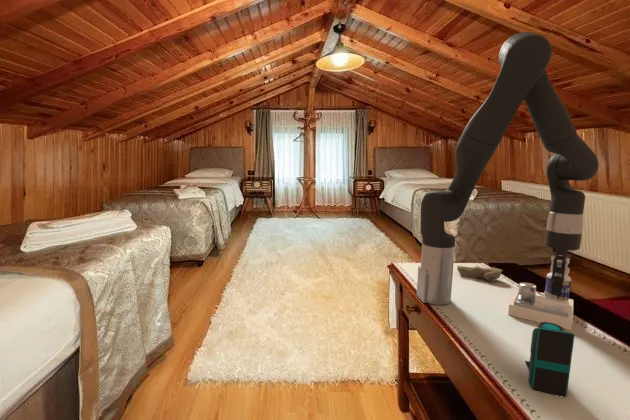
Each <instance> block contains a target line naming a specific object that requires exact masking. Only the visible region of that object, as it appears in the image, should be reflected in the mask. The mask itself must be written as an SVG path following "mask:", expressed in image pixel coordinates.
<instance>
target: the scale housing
mask: <svg viewBox="0 0 630 420" xmlns="http://www.w3.org/2000/svg"><path fill="white" fill-rule="evenodd" d="M518 292H519V287H517V288H516V289H515V291H514V294H513V296H512V297H511V300H510V302H509V303H508V304H509V305H508V313H507V314H508V315H509V316H512V317H516V318H520V319H524V320H529V321H532V322H537V323H538V324H539V323H540V322H549V323H553V324H557V325H559V326H561V327H563V328H564V330H567V331H573V325H574V324H573V322H574V299H572V298H569V300H568V302H569V315H568V317H565V316H560V315H556V314H552V313H548V312H543V311H539V310H535V309H530V308H526V307H522V306H518V305H514V301H515V298H516V296H517V294H518ZM536 295H539V296H543V297H545V292H540V291H536Z"/></svg>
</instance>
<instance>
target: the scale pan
mask: <svg viewBox="0 0 630 420" xmlns="http://www.w3.org/2000/svg"><path fill="white" fill-rule="evenodd" d="M518 295H519V292H518V294H517V296H516V298H515V301H514V305H518V306H522V307H526V308H530V309H535V310H539V311H543V312H548V313H552V314H556V315H560V316H565V317H568V315H569V302H556V301H552V300H549V299H547V298H546V297H543V296H539V295H536V296H535V301H525V300H522V299H520V298H519V297H518Z"/></svg>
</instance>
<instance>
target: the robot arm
mask: <svg viewBox="0 0 630 420" xmlns="http://www.w3.org/2000/svg"><path fill="white" fill-rule="evenodd" d="M552 53H553V47H552V44H551V42H550V41H549V39H548V38H547V37H545V36H543V35H541V34H538V33H535V32H529V31H523V32H517V33H516V34H513V35H512V36H510V37H509V38H508V39H507V40H505V41H504V43H503V44H502V46H501V47H500V51H499V53H498V62H499V63H498V64H499V66H500V71H499V74H497V75H498V76H497V77H496V81H495V82H494V84H493V86H492V88H491V91H490V93H489V95H488V96H487V98H486V99H485V100H484V102H483V104H481V106H480V107H479V108H478V109H477V111H475V112H474V114H473V115H472V117H471V118H470V119H469V121H468V122H467V124H466V126H465V127H464V129H463V131H462V133H461V135H460V137H459V138H458V141H457V143H456V146H455V149H454V150H455V151H454V160H455V172H454V177H453V179H452V181H451V183H450V185H449V186H448V188H447V189H445V190H432V191H428V192H426V193H425V194H424V196H423V197H422V200H421V204H420V235H421V239H422V240H421V257H420V265H419V266H417V268H418V269H417V282H416V283H417V284H416V296H417V297H418V299H420V300H421V302H422V303H423V304H424V303H425V304H430V305H434V306H435V305H436V306H437V305H438V306H443V305H449V304H450V303H451V301H452V291H453V290H452V286H453V276H454V275H453V274H454V261H455V247H456V246H455V245H456V237H455V236H454V235H453V234H451V233H448V232H447V231H445V223H448V222H449V223H450V222H454V221H456V220H458V219H460V217H462V215H463V214H464V212H465V209H466V207H467V205H468V204H469V201H470V198H471V197H472V194H473V192H474V189H475V187H476V186H477V183H478V181H479V180H480V178H481V176H482V174H483V172H484V170H485V168H486V167H487V166H488V163H489V161H490V160H491V159H492V157H493V156H494V154H495V152H496V150H497V149H498V147H499V146H500V143H501V141H502V139H503V138H504V136H505V134H506V132H507V130H508V129H509V126H510V125H511V124H512V121H513V119H514V118H515V117H516V116H515V115H516V113H517V111H519V108H520V106H522V105H521V104H522V103H523V102H524V103H525V105H526V108H527V110H528V113H529V115H530V118H531V119H532V123H533V125H534V127H535V130H536V132H537V135H538V136H539V139H540V141H541V143H542V145H543V147H544V150H546V151H547V152H549V153H552V154H553V155H552V156H551V157H550V158H549V159H548V161H547V164H546V168H545V169H546V170H545V171H546V177H547V180H548V181H547V182H548V187H549V191H550V204H549V212H548V216H547V220H546V221H547V222H546V231H545V239H544V245H545V246H546V247H548V248H551V249H555V252H551V257H550V260H551V265H550V272H551V271H552V277H551V279H552V288H551V294H552V295H556V296H561V293H562V285H563V281H564V274H566V273H567V268H569V267H568V266H569V264H570V261H571V254H569V252H568V251H579V250H580V249H581V245H582V236H583V230H584V208H585V203H586V202H585V201H586V195H585V193H584V192H583V191H581V190H578V189H574V188H573V187H571V184H570V181H576V182H579V181H580V182H583V181H588V180H590V179H593V178H594V177H595V176H596V174H597V173H598V170H599V164H600V163H599V160H598V157H597V154H596V153H595V152H594V150H592V148H591V147H590V146H589V145H588V144H587V143H586V142H585V140H583V138H582V137H580V136H579V134H578V132H577V130H576V127H575V125H574V123H573V121H572V118H571V116H570V114H569V111H568V109H567V108H566V106H565V104H564V103H563V101H562V100H561V98H560V96H559V95H558V93H557V91H556V90H555V88H554V86H553V84H552V82H551V80H550V78H549V76H548V72H547V70H546V69H547V67H548V66H549V63H550V62H551V58H552ZM555 273H561V274H562V277H559V276H555Z"/></svg>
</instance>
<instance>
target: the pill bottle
mask: <svg viewBox="0 0 630 420" xmlns="http://www.w3.org/2000/svg"><path fill="white" fill-rule="evenodd" d="M569 274H570V267H568V268H567V273H566V274H564V281H563V285H562V293H561V296H556V295H552V294H551V288H552V279H551V277H552V271H551V270H550V272H548V273H547V274H546V279H545V287H544V293H545V297H546V298H547V299H549V300H552V301H556V302H568V300H569V299H570V291H571V284H572V277H570V276H569ZM555 276H559V277H562V274H561V273H555Z"/></svg>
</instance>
